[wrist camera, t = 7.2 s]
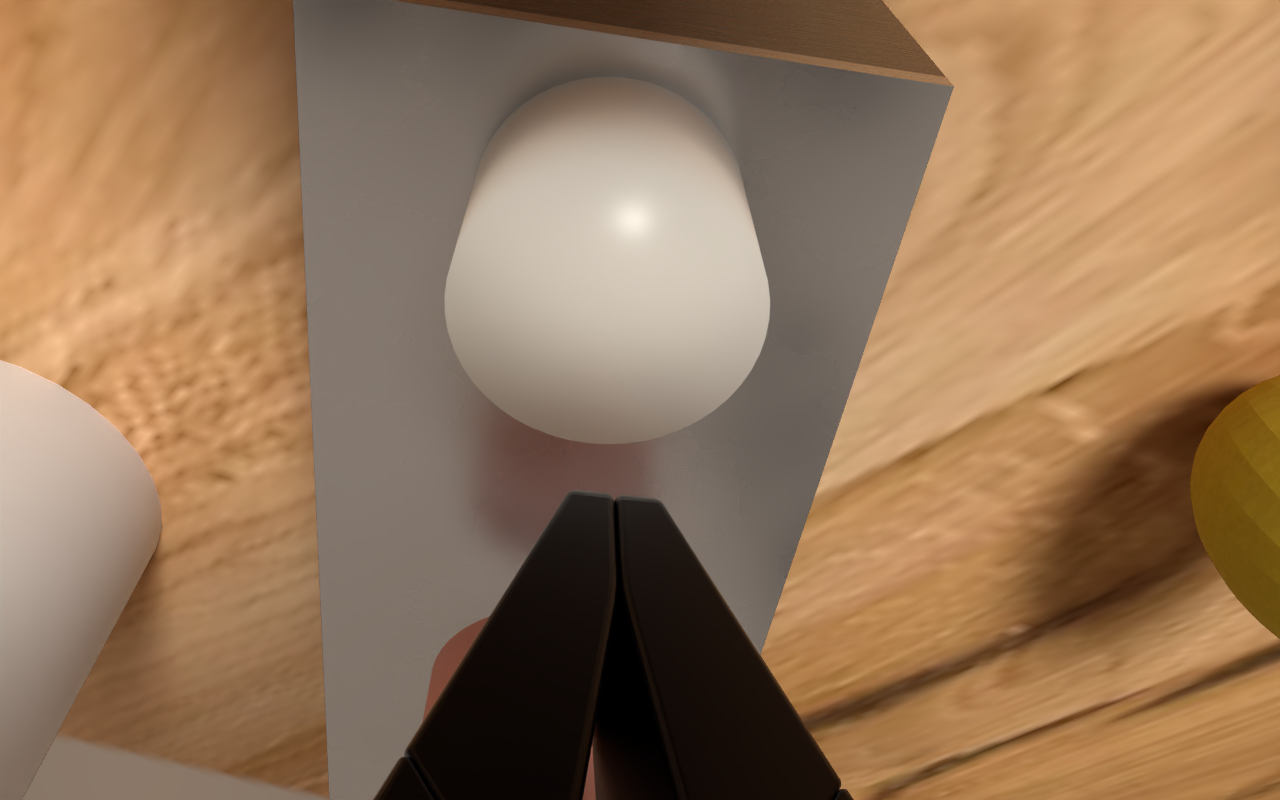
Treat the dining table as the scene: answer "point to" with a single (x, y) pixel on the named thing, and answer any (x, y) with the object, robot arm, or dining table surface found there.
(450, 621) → the console
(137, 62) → the dining table surface
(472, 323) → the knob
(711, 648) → the robot arm
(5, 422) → the cup
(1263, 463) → the lemon
